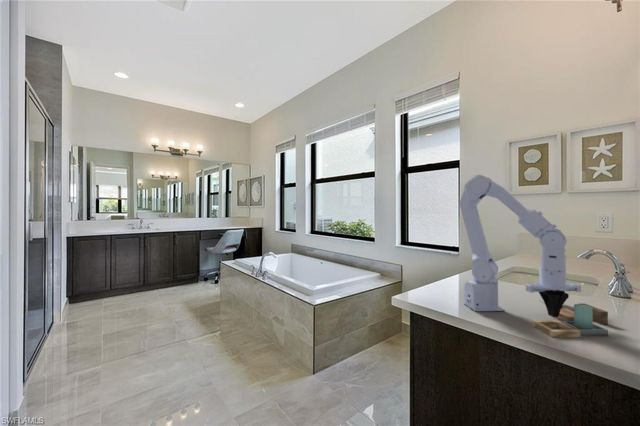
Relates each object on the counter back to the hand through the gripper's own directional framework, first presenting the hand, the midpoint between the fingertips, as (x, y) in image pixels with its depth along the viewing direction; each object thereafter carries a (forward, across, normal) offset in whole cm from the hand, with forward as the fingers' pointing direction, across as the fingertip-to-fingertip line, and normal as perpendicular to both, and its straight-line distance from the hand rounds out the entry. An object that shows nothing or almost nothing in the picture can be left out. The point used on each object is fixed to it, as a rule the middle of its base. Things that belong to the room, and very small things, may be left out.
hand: (553, 315), depth 82 cm
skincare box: (+2, +10, +14) cm, 18 cm away
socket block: (+1, -6, -8) cm, 9 cm away
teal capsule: (+1, +2, -8) cm, 8 cm away
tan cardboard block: (+2, +4, 0) cm, 4 cm away
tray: (+1, +2, -8) cm, 8 cm away
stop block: (+1, +11, 0) cm, 11 cm away
